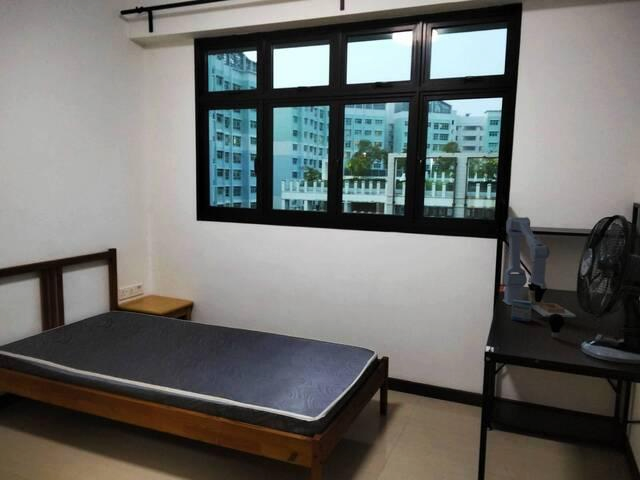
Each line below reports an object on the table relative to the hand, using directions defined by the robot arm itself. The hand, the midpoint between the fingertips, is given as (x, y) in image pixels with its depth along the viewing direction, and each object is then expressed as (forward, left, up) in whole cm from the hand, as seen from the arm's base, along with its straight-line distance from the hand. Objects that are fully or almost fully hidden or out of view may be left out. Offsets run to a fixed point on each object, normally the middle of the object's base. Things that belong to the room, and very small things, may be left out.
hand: (536, 300), depth 217 cm
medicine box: (+7, -9, -8) cm, 14 cm away
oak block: (0, 0, -2) cm, 2 cm away
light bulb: (+32, -5, -7) cm, 33 cm away
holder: (-8, +11, -7) cm, 15 cm away
